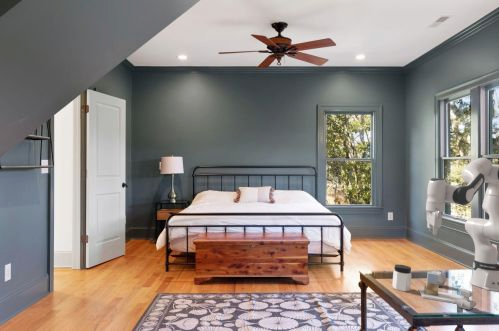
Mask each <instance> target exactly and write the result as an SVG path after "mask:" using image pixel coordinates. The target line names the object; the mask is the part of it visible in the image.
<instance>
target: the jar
mask: <svg viewBox="0 0 499 331" xmlns="http://www.w3.org/2000/svg"><path fill="white" fill-rule="evenodd" d="M411 285H412V267H410V266H408V265H405V264H395V265H394V268H393V273H392V286H391V287H392V288H394V289H395V290H396V291H400V292H401V291H402V292H409V291H410V292H411Z"/></svg>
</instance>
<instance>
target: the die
mask: <svg viewBox="0 0 499 331" xmlns="http://www.w3.org/2000/svg"><path fill="white" fill-rule="evenodd" d="M431 272H435V273H437V274H438V280H437V284H438V285H439V288H443V287H444V286H445V283H446V282H447V280H448V278H447V277H446V276H445V275H444V273H443V272H442V271H437V270H436V271H435V270H432V271H431Z"/></svg>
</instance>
